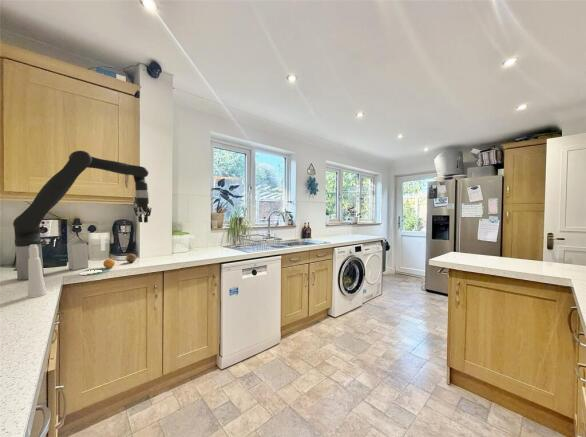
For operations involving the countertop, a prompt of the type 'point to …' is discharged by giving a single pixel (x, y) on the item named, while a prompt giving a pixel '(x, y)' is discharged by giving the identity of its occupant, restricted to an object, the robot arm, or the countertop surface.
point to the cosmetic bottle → (35, 274)
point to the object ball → (109, 263)
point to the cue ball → (131, 258)
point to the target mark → (98, 272)
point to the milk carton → (77, 254)
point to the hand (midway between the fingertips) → (143, 222)
